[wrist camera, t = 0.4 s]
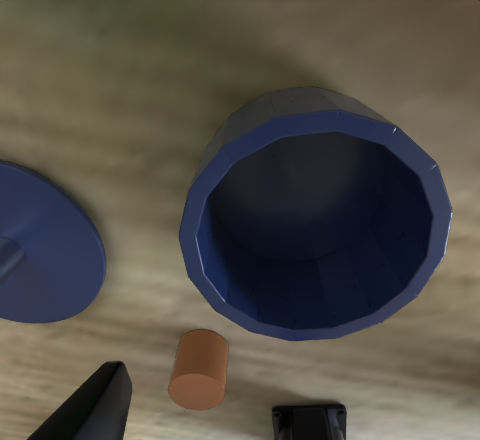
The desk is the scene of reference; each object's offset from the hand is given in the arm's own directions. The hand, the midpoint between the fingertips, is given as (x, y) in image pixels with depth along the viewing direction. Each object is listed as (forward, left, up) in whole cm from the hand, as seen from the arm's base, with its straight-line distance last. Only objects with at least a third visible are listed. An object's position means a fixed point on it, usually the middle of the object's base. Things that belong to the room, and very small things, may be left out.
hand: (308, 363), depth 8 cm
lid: (-4, +18, -13) cm, 23 cm away
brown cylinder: (-15, +7, -14) cm, 21 cm away
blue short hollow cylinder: (-2, -1, -14) cm, 14 cm away
